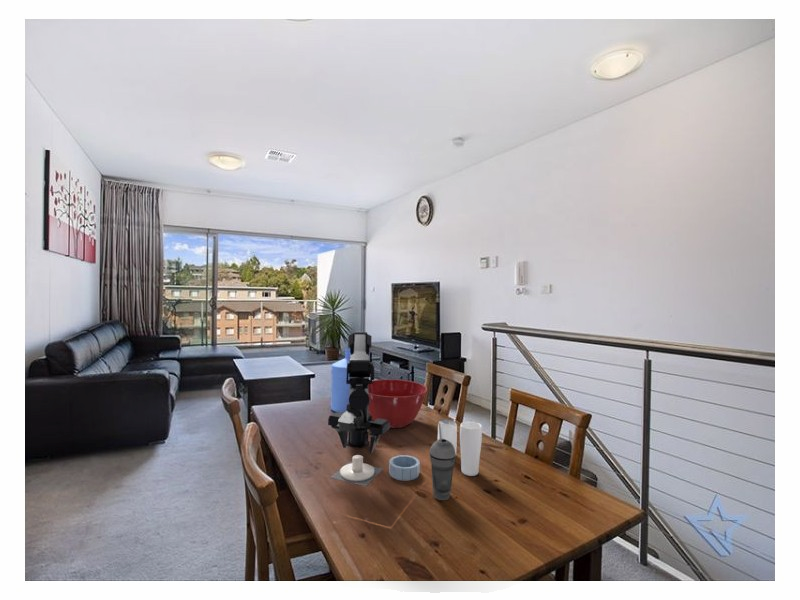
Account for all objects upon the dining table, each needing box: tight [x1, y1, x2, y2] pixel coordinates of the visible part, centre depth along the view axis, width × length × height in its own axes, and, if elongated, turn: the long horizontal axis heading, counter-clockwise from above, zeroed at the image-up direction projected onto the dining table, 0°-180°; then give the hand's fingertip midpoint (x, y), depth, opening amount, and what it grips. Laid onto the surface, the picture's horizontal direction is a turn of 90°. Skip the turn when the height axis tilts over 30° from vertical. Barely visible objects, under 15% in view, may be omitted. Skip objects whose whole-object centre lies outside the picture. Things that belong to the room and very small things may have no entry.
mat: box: [329, 460, 384, 487], centre depth 119 cm, size 12×12×1 cm
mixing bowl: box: [368, 378, 428, 429], centre depth 165 cm, size 28×28×15 cm
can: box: [437, 418, 458, 455], centre depth 133 cm, size 6×6×12 cm
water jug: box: [330, 348, 351, 413], centre depth 183 cm, size 16×16×28 cm
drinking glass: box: [459, 421, 483, 477], centre depth 121 cm, size 7×7×15 cm
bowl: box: [388, 454, 421, 482], centre depth 119 cm, size 9×9×4 cm
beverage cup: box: [429, 422, 457, 501], centre depth 107 cm, size 7×7×20 cm
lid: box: [339, 454, 374, 481], centre depth 119 cm, size 10×10×5 cm
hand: (357, 450), depth 119 cm, fingers open, 9 cm apart
